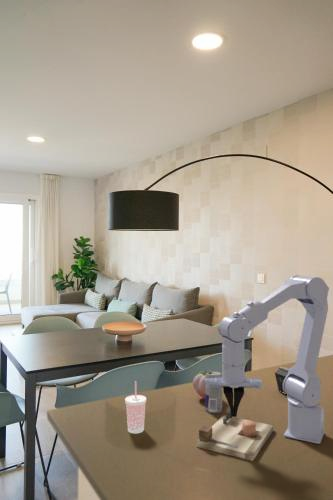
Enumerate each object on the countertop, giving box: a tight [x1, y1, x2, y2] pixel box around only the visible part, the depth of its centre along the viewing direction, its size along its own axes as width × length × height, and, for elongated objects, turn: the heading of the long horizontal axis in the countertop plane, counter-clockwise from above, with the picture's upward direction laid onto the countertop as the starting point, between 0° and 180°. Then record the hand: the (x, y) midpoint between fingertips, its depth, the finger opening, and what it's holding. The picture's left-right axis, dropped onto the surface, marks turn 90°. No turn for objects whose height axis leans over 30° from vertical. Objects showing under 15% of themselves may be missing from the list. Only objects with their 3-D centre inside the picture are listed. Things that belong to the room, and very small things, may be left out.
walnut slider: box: [198, 425, 212, 441], centre depth 108 cm, size 2×3×2 cm
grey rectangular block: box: [225, 410, 231, 420], centre depth 120 cm, size 1×3×3 cm, turn 151°
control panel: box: [196, 414, 274, 462], centre depth 112 cm, size 15×19×3 cm
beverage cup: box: [124, 380, 147, 434], centre depth 117 cm, size 6×6×14 cm
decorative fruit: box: [192, 371, 207, 400], centre depth 141 cm, size 9×8×10 cm
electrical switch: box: [274, 366, 290, 393], centre depth 145 cm, size 9×5×9 cm, turn 30°
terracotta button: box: [241, 420, 257, 438], centre depth 112 cm, size 4×4×3 cm
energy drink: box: [204, 370, 223, 414], centre depth 132 cm, size 5×5×12 cm
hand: (233, 415), depth 107 cm, fingers closed
